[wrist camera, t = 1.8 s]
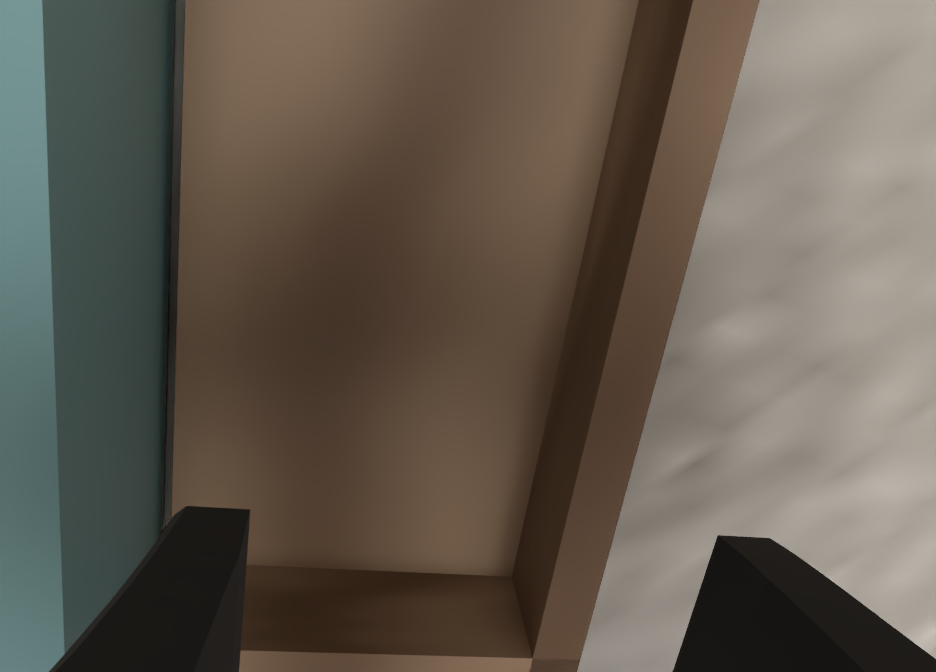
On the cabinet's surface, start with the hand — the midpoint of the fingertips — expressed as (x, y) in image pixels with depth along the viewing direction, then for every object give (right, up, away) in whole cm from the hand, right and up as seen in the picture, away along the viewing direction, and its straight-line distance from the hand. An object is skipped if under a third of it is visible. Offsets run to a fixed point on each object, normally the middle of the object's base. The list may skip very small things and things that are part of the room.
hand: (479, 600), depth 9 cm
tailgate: (-7, +4, +7) cm, 11 cm away
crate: (-2, +4, +8) cm, 9 cm away
